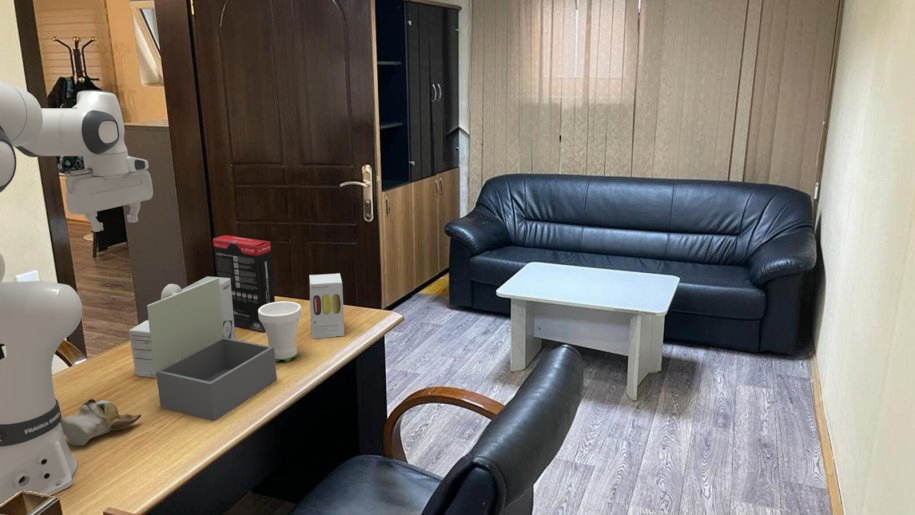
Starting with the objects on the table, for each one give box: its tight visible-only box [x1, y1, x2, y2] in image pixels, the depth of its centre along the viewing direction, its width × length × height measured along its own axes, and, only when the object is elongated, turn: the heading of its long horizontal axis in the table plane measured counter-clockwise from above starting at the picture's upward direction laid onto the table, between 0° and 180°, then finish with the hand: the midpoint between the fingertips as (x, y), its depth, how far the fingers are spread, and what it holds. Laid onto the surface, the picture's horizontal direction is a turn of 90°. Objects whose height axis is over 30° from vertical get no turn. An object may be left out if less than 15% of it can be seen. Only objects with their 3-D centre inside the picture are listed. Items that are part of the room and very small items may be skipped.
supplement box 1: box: [128, 319, 176, 379], centre depth 173 cm, size 7×7×13 cm
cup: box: [258, 300, 302, 363], centre depth 181 cm, size 11×11×14 cm
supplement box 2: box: [308, 272, 345, 340], centre depth 198 cm, size 10×9×17 cm
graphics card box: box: [212, 234, 276, 333], centre depth 202 cm, size 17×7×27 cm, turn 65°
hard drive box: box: [181, 276, 236, 359], centre depth 183 cm, size 16×8×20 cm, turn 168°
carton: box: [156, 337, 278, 422], centre depth 162 cm, size 22×16×9 cm
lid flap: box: [146, 278, 223, 371], centre depth 162 cm, size 22×17×5 cm
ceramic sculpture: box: [61, 398, 142, 447], centre depth 144 cm, size 11×9×15 cm
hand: (116, 226), depth 153 cm, fingers open, 8 cm apart
